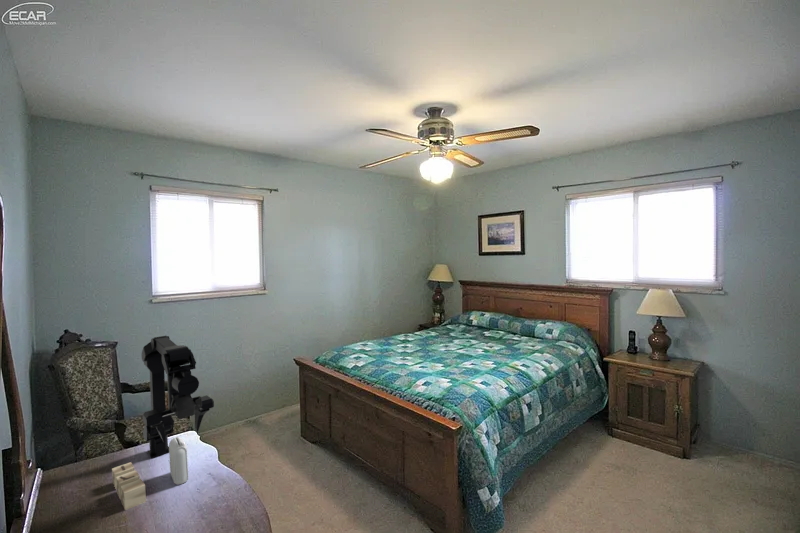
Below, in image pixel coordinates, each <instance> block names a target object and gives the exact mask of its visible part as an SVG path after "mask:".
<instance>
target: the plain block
mask: <svg viewBox="0 0 800 533" xmlns="http://www.w3.org/2000/svg"><path fill="white" fill-rule="evenodd" d="M146 492H147V491H146V484H145V482H144V480H143V479H142V478H140V479H139V480H136V481H134V482H131V483H128V484H126V485H123V486H121V500H120V501H121V505H122V507H123V510H124V511H127V510H129V509H132V508H134V507H137V506H140V505H141V504H144V503H146V502H147V495H146Z"/></svg>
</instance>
